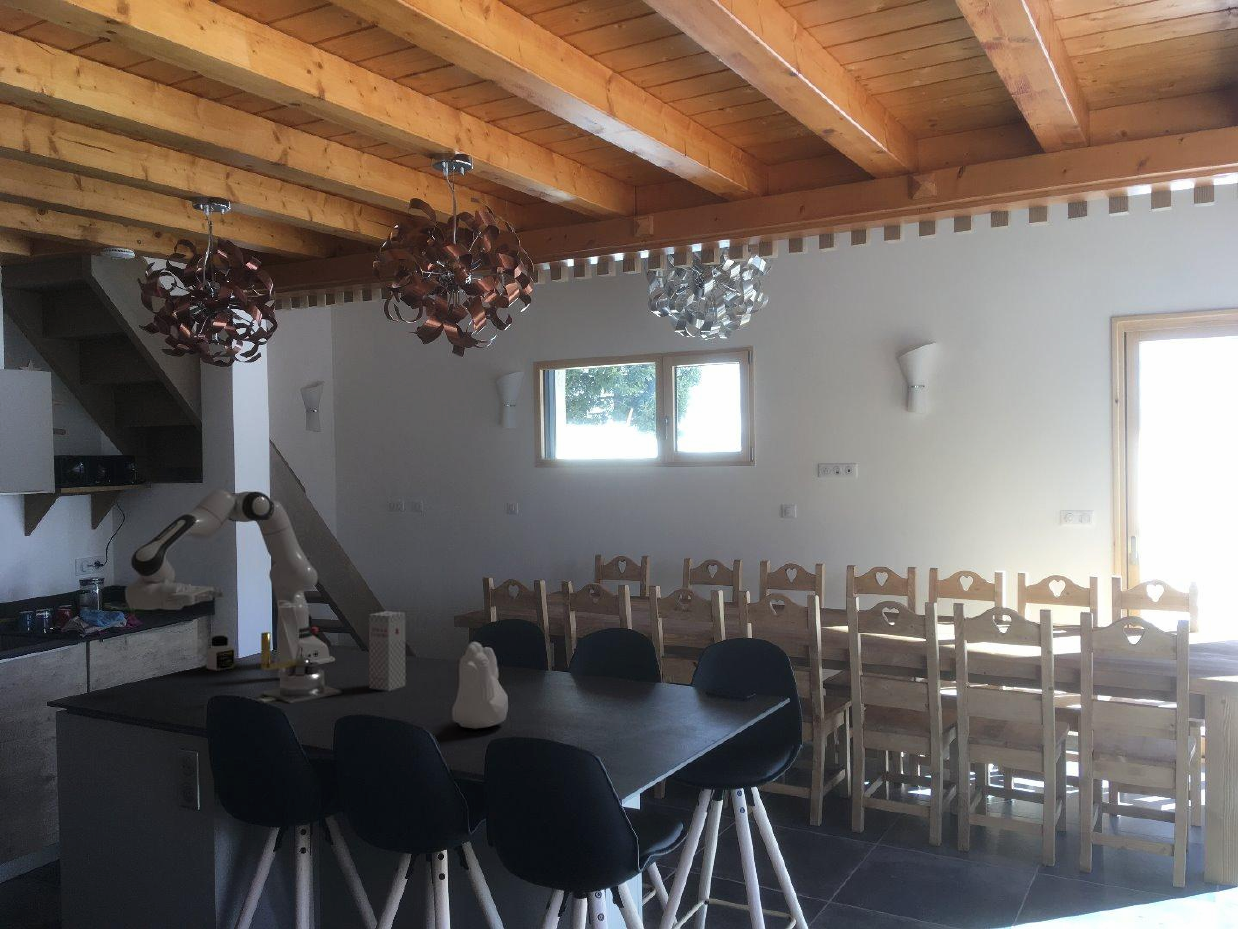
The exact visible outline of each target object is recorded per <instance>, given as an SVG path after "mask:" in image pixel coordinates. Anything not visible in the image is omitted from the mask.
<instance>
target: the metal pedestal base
mask: <svg viewBox="0 0 1238 929" xmlns="http://www.w3.org/2000/svg"><path fill="white" fill-rule="evenodd" d="M262 692H263V695H264V696H266V697H272V698H275V699H276V700H280V701H283V702H284V703H289V704H294V703H298V702H299V703H300V702H304V701H310V700H315V699H320V698H325V697H330V696H331V697H332V696H335V695H340V694H342V691H341V689H338V688H333V687H330V686H327V685H325V670H324V669H320V668H319V670H318V672H316V673H313V674H309V673H305V675H295V673H294V674H291V675H288V674H286V673H285V671H284V672H282V673H280V679H279V688H275V689H269V690H263V691H262Z"/></svg>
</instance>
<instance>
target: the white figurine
mask: <svg viewBox="0 0 1238 929" xmlns="http://www.w3.org/2000/svg"><path fill="white" fill-rule="evenodd" d="M458 666H459V667H458V669H459V670H458V671H459V673H458V674H459V684H458V685H459V686H458V692H457V694H456V700H455V701H454V704H453V706H452V709H451V710H452V711H451V712H452V714H451V715H452V720H453V721H454V723H457V724H458V725H459V726H460V727H463V728H468V729H469V728H470V729H482V728H488V727H492V726H496V725H499V724H501V723H502V722H504V721H506V718H507V714H508V710H509V702H508V701H509V700H508V699H509V698H508V696H509V695H507V693H506V691H505V690H504V688H503V687H502V686H501V684H500V682H499V680H498V679H499V667H498V660H497V657H496V654H495V652H494V650H493V648H491V647H487V646H485V647H483V645H482V644H481V643H479V642H477V641H472V642H470V643H469V644H468V645H467V648H466V650H465V654H463V656H461V658H460V661H459V665H458Z"/></svg>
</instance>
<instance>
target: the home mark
mask: <svg viewBox="0 0 1238 929" xmlns="http://www.w3.org/2000/svg"><path fill="white" fill-rule="evenodd" d="M258 699H259V700H262V701H264V703H268V702H273V701H277V699H276V698H273V697H270V696H266V697H262V698H260V697H259V698H258Z"/></svg>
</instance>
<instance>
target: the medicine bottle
mask: <svg viewBox="0 0 1238 929" xmlns="http://www.w3.org/2000/svg"><path fill="white" fill-rule="evenodd" d="M229 646H230V637H229V636H227V635H214V636H212V637H211V648H207V649H206V669H209V670H211V671H215V672H217V671H222V670H223V671H224V670H228V669H234V668H235V649H234V648H230V647H229Z"/></svg>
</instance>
